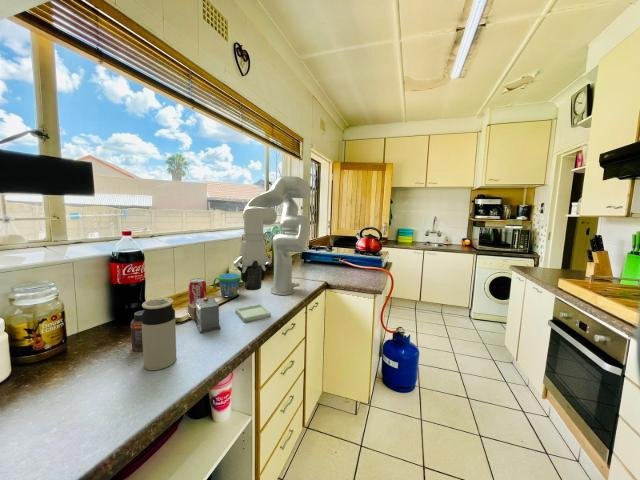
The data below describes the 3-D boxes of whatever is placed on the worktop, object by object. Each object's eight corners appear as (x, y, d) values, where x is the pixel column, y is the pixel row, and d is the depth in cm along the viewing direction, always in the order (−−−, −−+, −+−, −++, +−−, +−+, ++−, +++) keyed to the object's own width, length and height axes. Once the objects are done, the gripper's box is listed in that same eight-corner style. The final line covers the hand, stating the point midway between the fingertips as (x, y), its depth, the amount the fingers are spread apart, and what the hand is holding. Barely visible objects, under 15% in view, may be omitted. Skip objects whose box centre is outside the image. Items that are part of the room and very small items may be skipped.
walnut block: (200, 313, 108) (200, 301, 107) (206, 316, 105) (206, 304, 104) (188, 316, 104) (187, 304, 104) (193, 320, 101) (193, 308, 100)
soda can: (209, 305, 116) (209, 279, 114) (195, 310, 110) (194, 283, 108) (200, 302, 119) (200, 277, 118) (185, 306, 113) (185, 280, 112)
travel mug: (158, 374, 69) (156, 309, 66) (136, 367, 71) (133, 305, 69) (182, 357, 76) (181, 299, 74) (161, 352, 79) (159, 295, 76)
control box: (214, 317, 104) (213, 294, 103) (220, 328, 95) (220, 303, 94) (194, 321, 100) (194, 297, 99) (200, 333, 91) (199, 306, 90)
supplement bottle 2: (251, 284, 111) (251, 257, 110) (264, 287, 109) (265, 259, 107) (240, 289, 105) (241, 260, 103) (255, 291, 102) (255, 262, 101)
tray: (260, 307, 116) (260, 303, 116) (270, 316, 107) (270, 312, 107) (235, 312, 110) (235, 308, 110) (243, 322, 101) (243, 318, 100)
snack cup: (248, 293, 134) (248, 274, 133) (240, 300, 124) (240, 279, 123) (219, 291, 135) (219, 272, 134) (209, 298, 125) (209, 277, 124)
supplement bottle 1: (157, 347, 81) (155, 312, 80) (134, 354, 77) (132, 318, 76) (151, 339, 85) (150, 307, 84) (129, 346, 81) (128, 312, 80)
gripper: (269, 236, 112) (269, 276, 114) (229, 237, 102) (229, 280, 105) (277, 238, 106) (276, 280, 108) (234, 239, 96) (234, 285, 98)
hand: (253, 280), depth 106 cm, fingers closed on supplement bottle 2, 6 cm apart
